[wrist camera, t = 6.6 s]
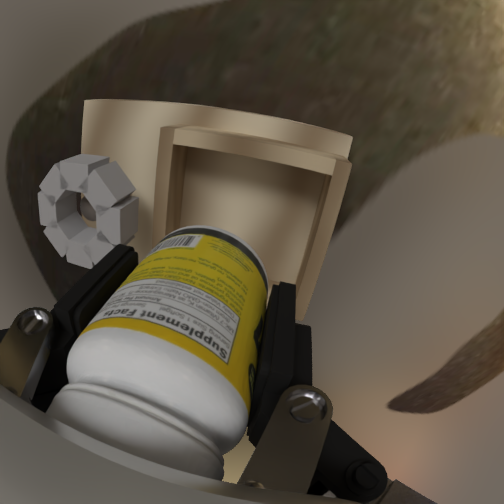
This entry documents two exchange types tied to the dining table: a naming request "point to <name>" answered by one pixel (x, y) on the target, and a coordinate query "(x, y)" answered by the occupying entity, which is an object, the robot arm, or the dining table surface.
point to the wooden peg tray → (226, 179)
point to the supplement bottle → (173, 354)
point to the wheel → (102, 200)
